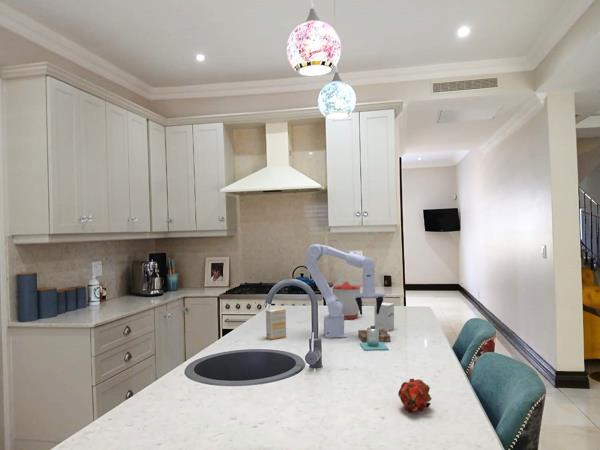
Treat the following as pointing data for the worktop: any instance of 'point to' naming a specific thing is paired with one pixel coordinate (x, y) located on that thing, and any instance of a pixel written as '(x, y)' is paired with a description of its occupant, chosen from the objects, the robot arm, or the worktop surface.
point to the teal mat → (367, 348)
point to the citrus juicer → (347, 299)
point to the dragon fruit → (415, 395)
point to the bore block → (382, 336)
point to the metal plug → (373, 336)
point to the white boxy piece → (384, 316)
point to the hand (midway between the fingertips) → (369, 314)
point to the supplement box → (275, 323)
